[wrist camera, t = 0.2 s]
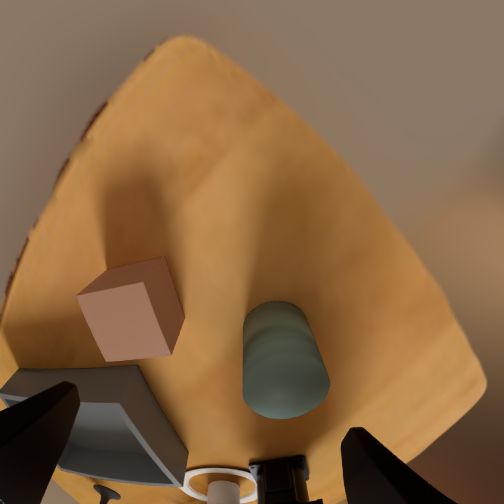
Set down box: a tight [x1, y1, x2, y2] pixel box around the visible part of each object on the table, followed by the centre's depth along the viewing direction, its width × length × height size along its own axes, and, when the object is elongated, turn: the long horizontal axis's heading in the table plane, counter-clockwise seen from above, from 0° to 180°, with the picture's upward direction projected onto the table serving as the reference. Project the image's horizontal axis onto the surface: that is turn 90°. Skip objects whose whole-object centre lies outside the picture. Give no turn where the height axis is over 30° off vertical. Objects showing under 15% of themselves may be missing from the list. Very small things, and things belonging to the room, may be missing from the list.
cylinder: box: [243, 301, 330, 419], centre depth 19 cm, size 5×5×7 cm
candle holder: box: [179, 468, 257, 504], centre depth 27 cm, size 12×12×4 cm
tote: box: [0, 365, 188, 487], centre depth 23 cm, size 13×17×5 cm
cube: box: [76, 256, 185, 362], centre depth 19 cm, size 5×5×5 cm
